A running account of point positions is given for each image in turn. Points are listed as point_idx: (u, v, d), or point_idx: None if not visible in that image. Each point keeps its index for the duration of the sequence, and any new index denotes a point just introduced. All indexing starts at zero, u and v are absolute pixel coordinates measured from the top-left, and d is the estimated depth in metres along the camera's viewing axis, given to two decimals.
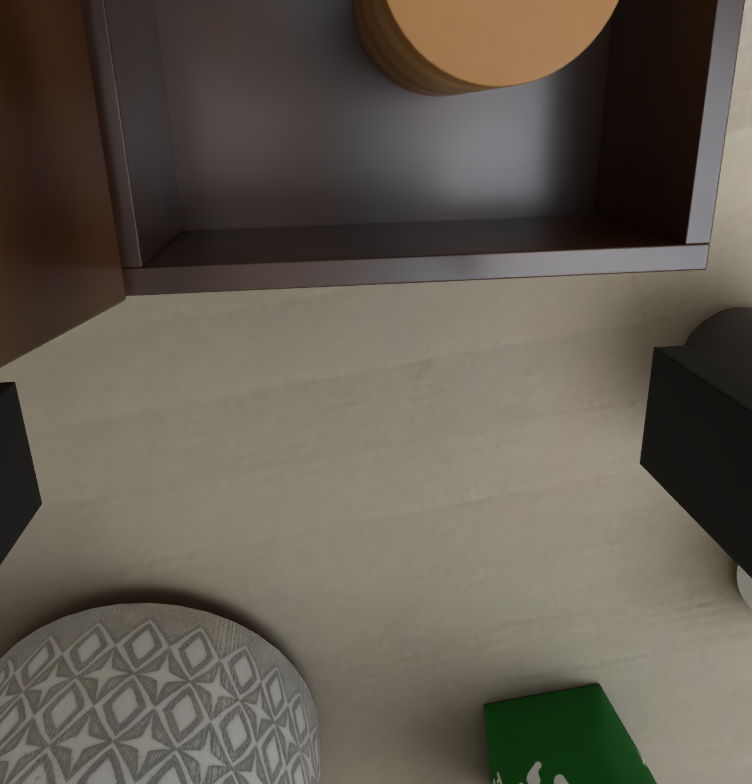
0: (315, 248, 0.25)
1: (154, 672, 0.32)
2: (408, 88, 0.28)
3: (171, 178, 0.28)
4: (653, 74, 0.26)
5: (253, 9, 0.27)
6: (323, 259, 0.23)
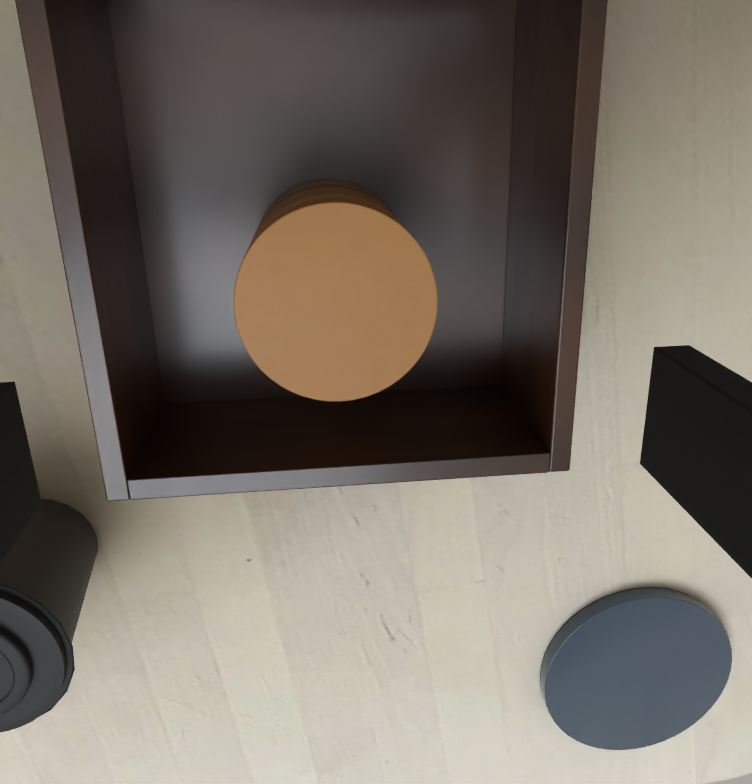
0: (88, 141, 0.25)
1: None
2: None
3: None
4: (271, 432, 0.32)
5: (315, 87, 0.31)
6: (71, 150, 0.24)
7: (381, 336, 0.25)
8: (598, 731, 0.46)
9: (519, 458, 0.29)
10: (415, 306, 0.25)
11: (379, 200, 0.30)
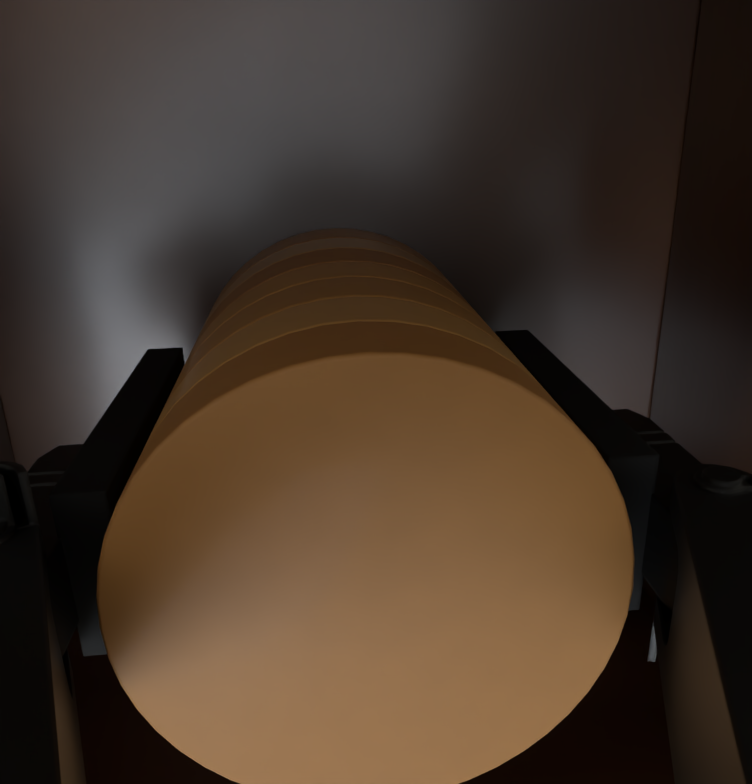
0: None
1: None
2: None
3: None
4: None
5: (314, 52, 0.16)
6: None
7: (485, 667, 0.10)
8: None
9: None
10: (576, 599, 0.10)
11: (442, 276, 0.15)
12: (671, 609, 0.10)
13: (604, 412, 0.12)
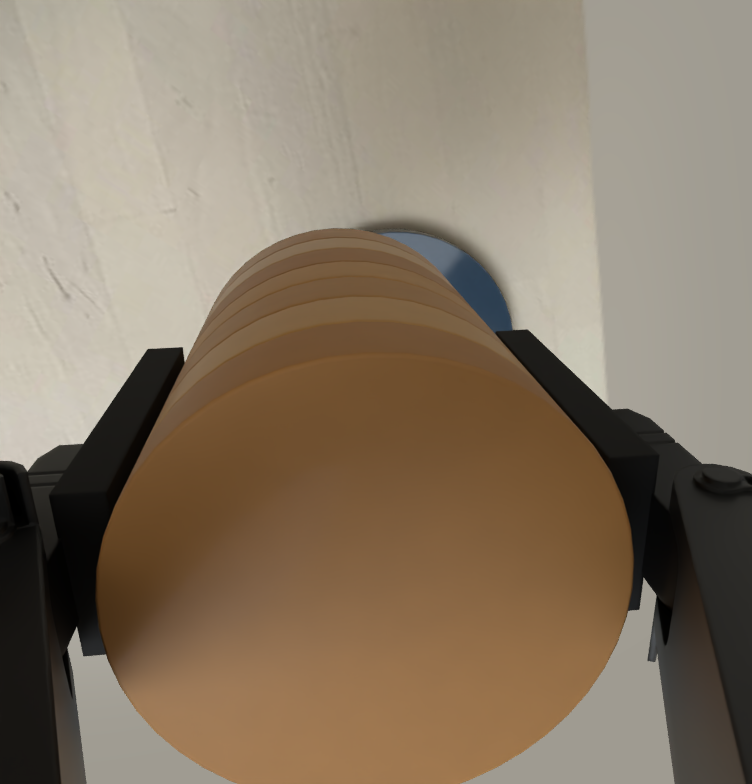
0: None
1: None
2: None
3: None
4: None
5: None
6: None
7: (484, 668, 0.10)
8: None
9: None
10: (575, 600, 0.09)
11: (441, 277, 0.15)
12: (671, 609, 0.10)
13: (604, 412, 0.12)
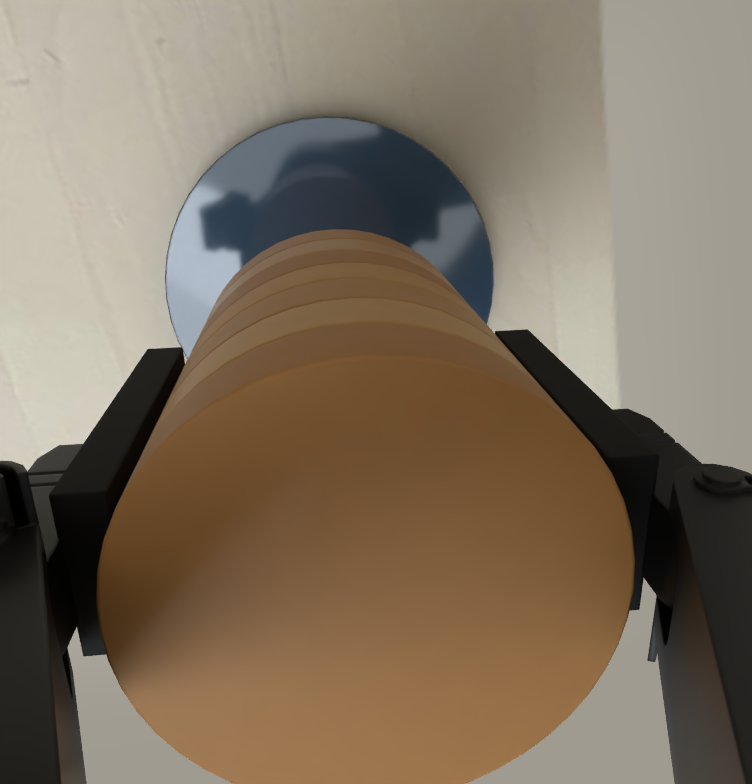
0: None
1: None
2: None
3: None
4: None
5: None
6: None
7: (485, 669, 0.10)
8: None
9: None
10: (576, 601, 0.09)
11: (442, 278, 0.15)
12: (671, 609, 0.10)
13: (604, 412, 0.12)
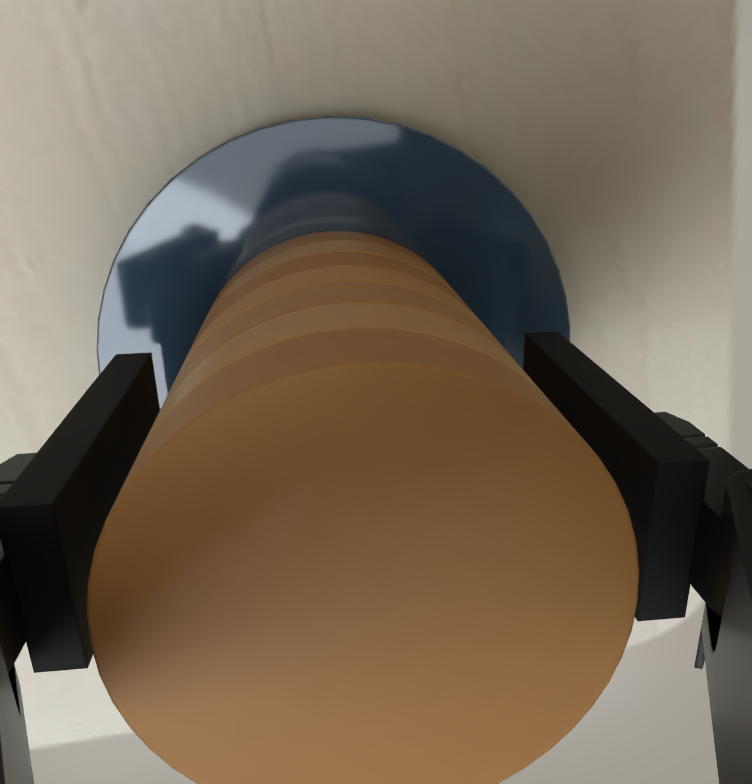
0: None
1: None
2: None
3: None
4: None
5: None
6: None
7: (486, 683, 0.10)
8: None
9: None
10: (579, 613, 0.09)
11: (441, 280, 0.15)
12: (720, 616, 0.10)
13: (647, 416, 0.11)
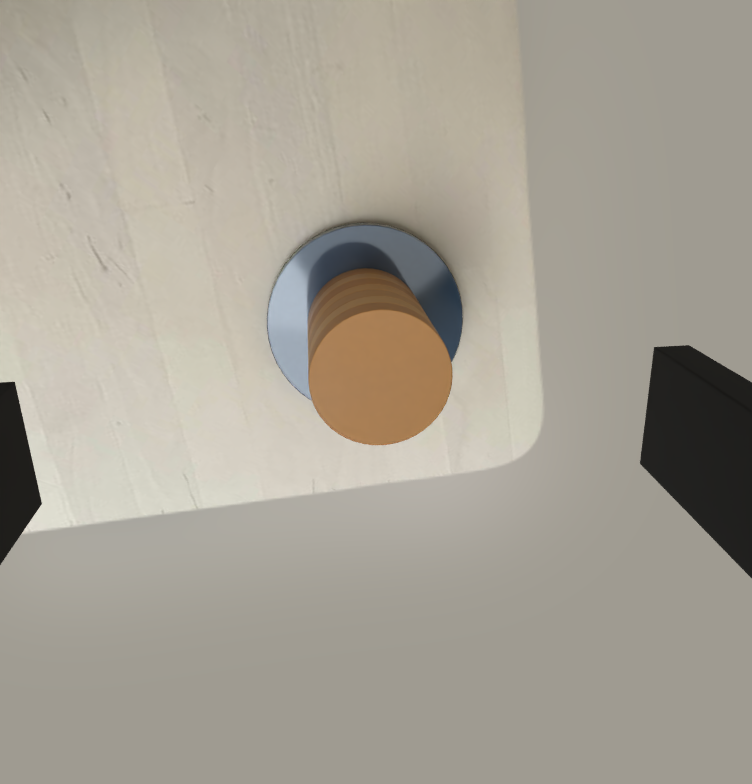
0: None
1: None
2: (311, 307, 0.42)
3: None
4: None
5: None
6: None
7: (411, 400, 0.35)
8: None
9: None
10: (436, 379, 0.35)
11: (406, 289, 0.41)
12: None
13: None
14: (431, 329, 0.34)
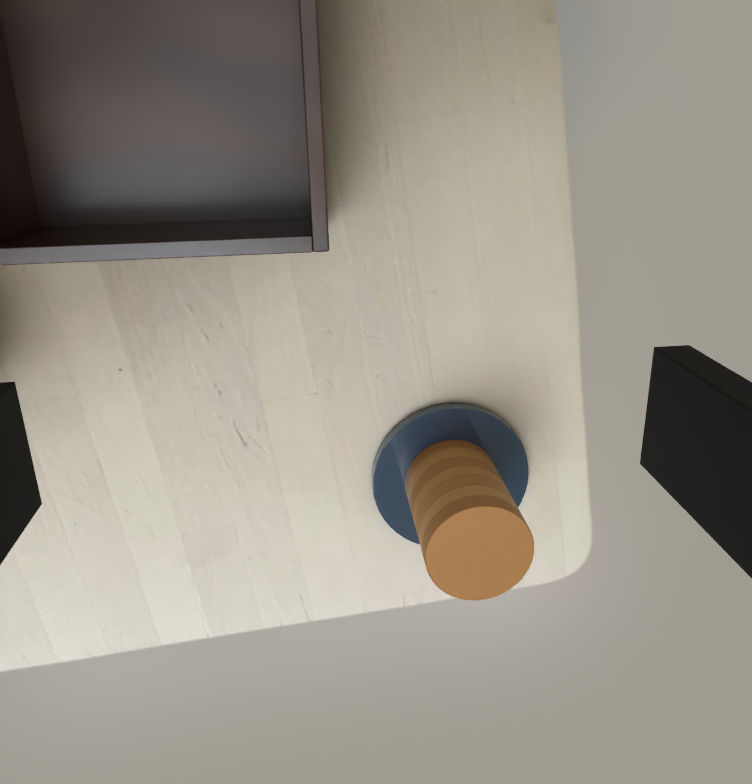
0: None
1: None
2: (410, 472, 0.53)
3: None
4: (112, 233, 0.41)
5: None
6: None
7: (502, 567, 0.45)
8: None
9: (288, 239, 0.39)
10: (521, 553, 0.45)
11: (487, 461, 0.51)
12: None
13: None
14: (519, 518, 0.44)
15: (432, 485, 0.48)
